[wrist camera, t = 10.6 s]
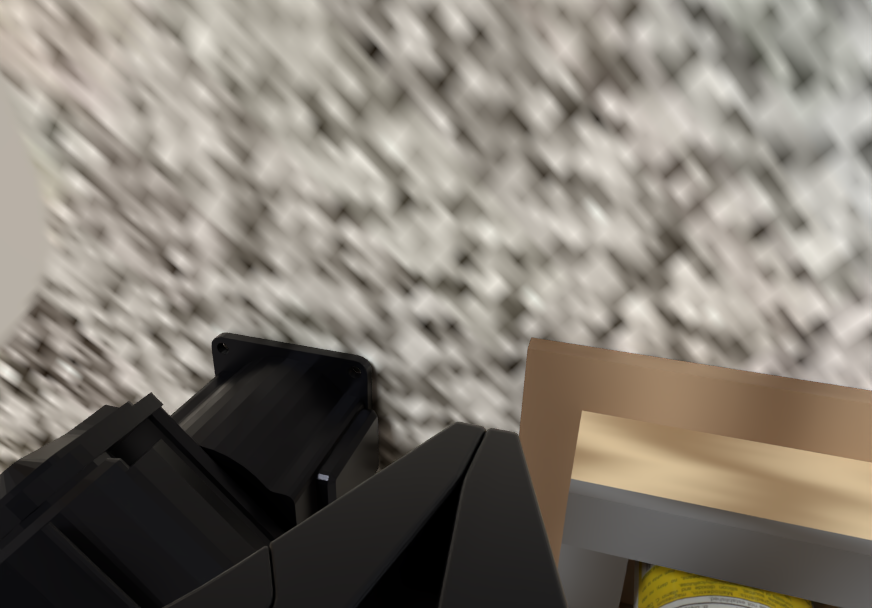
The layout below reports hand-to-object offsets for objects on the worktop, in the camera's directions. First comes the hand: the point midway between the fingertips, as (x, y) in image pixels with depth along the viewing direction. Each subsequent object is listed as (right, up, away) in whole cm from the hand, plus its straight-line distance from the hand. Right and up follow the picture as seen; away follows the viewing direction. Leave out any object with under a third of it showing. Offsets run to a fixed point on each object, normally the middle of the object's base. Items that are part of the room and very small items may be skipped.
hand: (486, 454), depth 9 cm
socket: (+9, -7, +15) cm, 19 cm away
